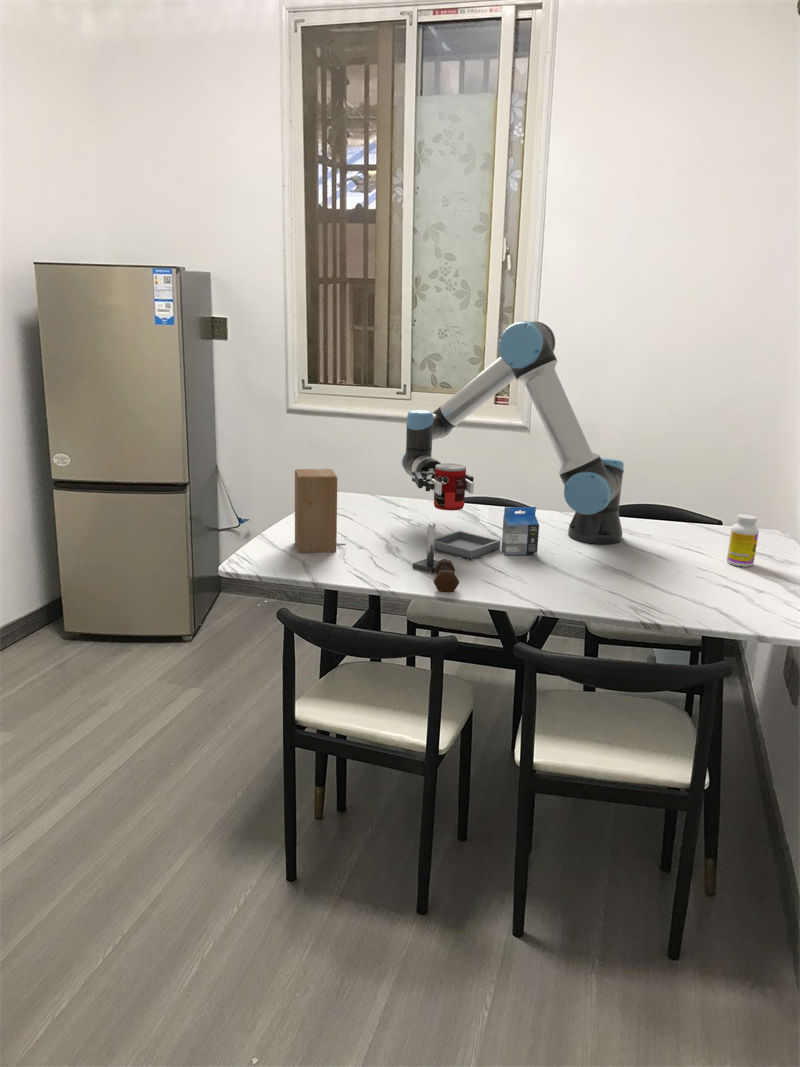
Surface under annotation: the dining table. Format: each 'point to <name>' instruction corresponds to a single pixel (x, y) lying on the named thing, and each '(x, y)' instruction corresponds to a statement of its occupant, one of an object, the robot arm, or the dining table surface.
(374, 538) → the dining table surface
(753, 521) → the supplement bottle
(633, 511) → the dining table surface
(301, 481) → the wooden block
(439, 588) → the brown hex dumbbell
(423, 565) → the stand
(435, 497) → the canned food
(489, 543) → the tray
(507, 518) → the label tape box
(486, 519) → the dining table surface
